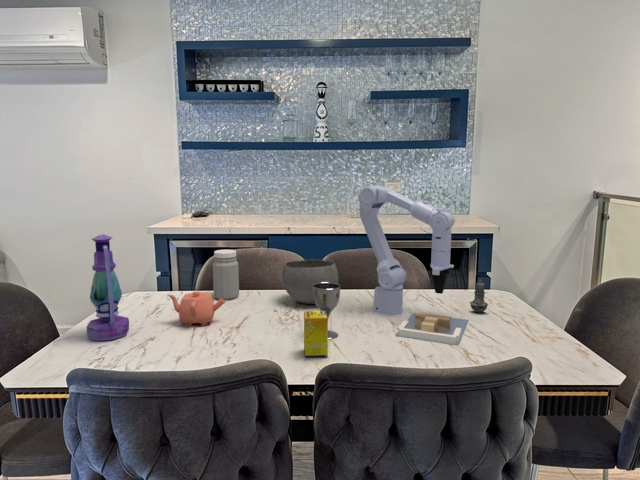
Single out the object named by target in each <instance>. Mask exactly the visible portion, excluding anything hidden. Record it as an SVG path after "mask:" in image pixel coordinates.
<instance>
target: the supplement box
mask: <svg viewBox="0 0 640 480" xmlns="http://www.w3.org/2000/svg"><path fill="white" fill-rule="evenodd" d="M328 325H329V318H327V315H326V311H320V310H306V311H303V330H304V331H303V333H304V334H303V345H304V346H303V349H304V350H303V351H304V355H305V356H304V357H305V359H323V358H324V359H325V358H326V359H327V358H329V357H328V355H329V351H328V350H329V349H328V348H329V347H328V343H329V342H328V340H329V339H328V331H329V328H328V327H329V326H328Z"/></svg>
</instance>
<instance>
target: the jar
mask: <svg viewBox="0 0 640 480" xmlns="http://www.w3.org/2000/svg"><path fill="white" fill-rule="evenodd" d="M213 257H214V259H213V260H214V261H213V263H212V277H213V278H212V282H213V283H212V284H213V297H214V298H215V299H216V300H218V301H219V300H220V299H221V298H222V299H223V300H224V301H231V300H235V299H237V298H238V296H240V285H239V284H240V277H239V273H240V272H239V262H238V260H237V250H235V249H228V248H227V249H217V250H214V253H213Z"/></svg>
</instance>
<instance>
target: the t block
mask: <svg viewBox="0 0 640 480" xmlns="http://www.w3.org/2000/svg"><path fill="white" fill-rule="evenodd" d="M416 313H417V314H416V315H415V328H417V329H421V331H427V332H434V333H437V331H438V332H445V333H449V331H450V326H451V318H452V316H450V315H442V314H434V313H426V312H418V311H417V312H416Z"/></svg>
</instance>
